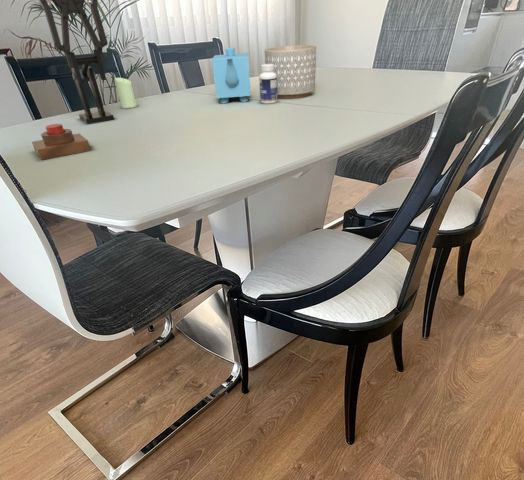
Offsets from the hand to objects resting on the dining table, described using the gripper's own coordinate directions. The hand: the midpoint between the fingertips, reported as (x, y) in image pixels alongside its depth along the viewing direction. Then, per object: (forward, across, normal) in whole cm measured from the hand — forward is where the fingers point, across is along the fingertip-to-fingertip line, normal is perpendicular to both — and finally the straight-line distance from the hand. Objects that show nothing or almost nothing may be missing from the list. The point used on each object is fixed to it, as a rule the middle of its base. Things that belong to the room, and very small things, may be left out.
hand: (92, 80), depth 105 cm
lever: (-1, 0, +4) cm, 5 cm away
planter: (+11, +62, -6) cm, 63 cm away
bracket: (+10, 0, +9) cm, 14 cm away
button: (+7, -16, -23) cm, 29 cm away
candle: (+10, +14, +21) cm, 27 cm away
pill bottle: (+11, +50, -11) cm, 52 cm away
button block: (+11, -16, -23) cm, 30 cm away
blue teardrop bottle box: (+11, +44, +1) cm, 45 cm away
